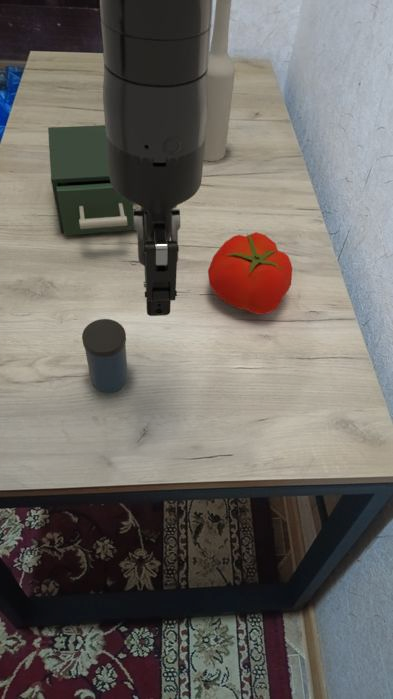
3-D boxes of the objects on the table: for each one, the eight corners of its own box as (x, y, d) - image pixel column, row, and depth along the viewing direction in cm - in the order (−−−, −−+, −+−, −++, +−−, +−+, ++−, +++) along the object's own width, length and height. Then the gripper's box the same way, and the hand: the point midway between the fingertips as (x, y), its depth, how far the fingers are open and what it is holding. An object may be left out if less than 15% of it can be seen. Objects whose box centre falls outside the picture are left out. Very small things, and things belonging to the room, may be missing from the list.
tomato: (195, 271, 77) (199, 228, 71) (269, 260, 80) (279, 218, 73) (219, 332, 70) (227, 291, 63) (299, 318, 73) (314, 277, 66)
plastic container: (91, 396, 62) (83, 354, 55) (88, 365, 65) (80, 321, 58) (131, 391, 63) (128, 349, 56) (126, 360, 66) (122, 316, 59)
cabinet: (143, 226, 83) (142, 173, 75) (61, 233, 81) (51, 179, 72) (132, 176, 91) (130, 123, 83) (57, 180, 89) (48, 127, 81)
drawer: (145, 248, 78) (144, 204, 72) (66, 255, 76) (58, 211, 70) (130, 181, 89) (129, 137, 82) (60, 185, 87) (53, 141, 80)
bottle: (192, 160, 96) (204, -9, 74) (192, 142, 100) (203, -24, 78) (226, 162, 96) (248, -6, 74) (224, 143, 100) (244, -21, 78)
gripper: (104, 81, 40) (116, 235, 53) (105, 184, 32) (119, 338, 45) (194, 82, 41) (185, 234, 54) (219, 183, 33) (200, 334, 46)
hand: (155, 281), depth 50 cm, fingers open, 8 cm apart
